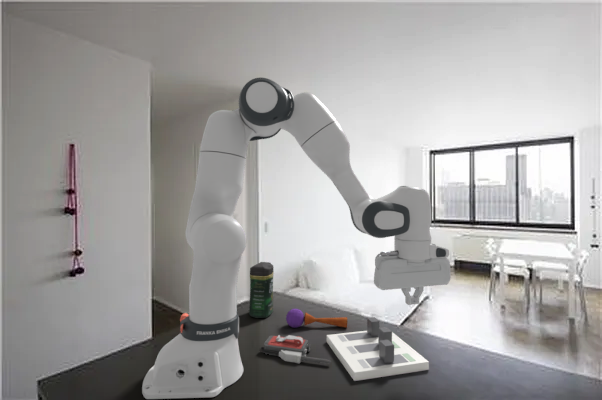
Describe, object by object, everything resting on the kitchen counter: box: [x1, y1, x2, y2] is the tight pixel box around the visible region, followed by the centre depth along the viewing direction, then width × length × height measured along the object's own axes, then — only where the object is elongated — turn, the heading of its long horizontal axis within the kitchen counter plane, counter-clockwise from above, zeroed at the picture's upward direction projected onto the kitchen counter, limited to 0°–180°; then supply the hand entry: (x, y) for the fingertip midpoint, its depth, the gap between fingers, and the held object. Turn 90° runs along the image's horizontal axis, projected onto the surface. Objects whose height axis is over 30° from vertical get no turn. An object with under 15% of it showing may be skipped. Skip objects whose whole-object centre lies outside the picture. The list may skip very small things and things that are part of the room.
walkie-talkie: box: [259, 334, 332, 364], centre depth 85 cm, size 9×4×20 cm
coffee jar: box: [248, 261, 275, 319], centre depth 113 cm, size 10×8×19 cm
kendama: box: [285, 308, 348, 329], centre depth 103 cm, size 6×6×20 cm
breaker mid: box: [378, 326, 393, 343], centre depth 86 cm, size 2×3×4 cm
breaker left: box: [366, 316, 380, 336], centre depth 93 cm, size 2×3×4 cm
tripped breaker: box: [379, 340, 394, 363], centre depth 78 cm, size 2×3×4 cm
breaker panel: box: [326, 330, 430, 382], centre depth 85 cm, size 20×20×2 cm
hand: (412, 303), depth 80 cm, fingers closed
